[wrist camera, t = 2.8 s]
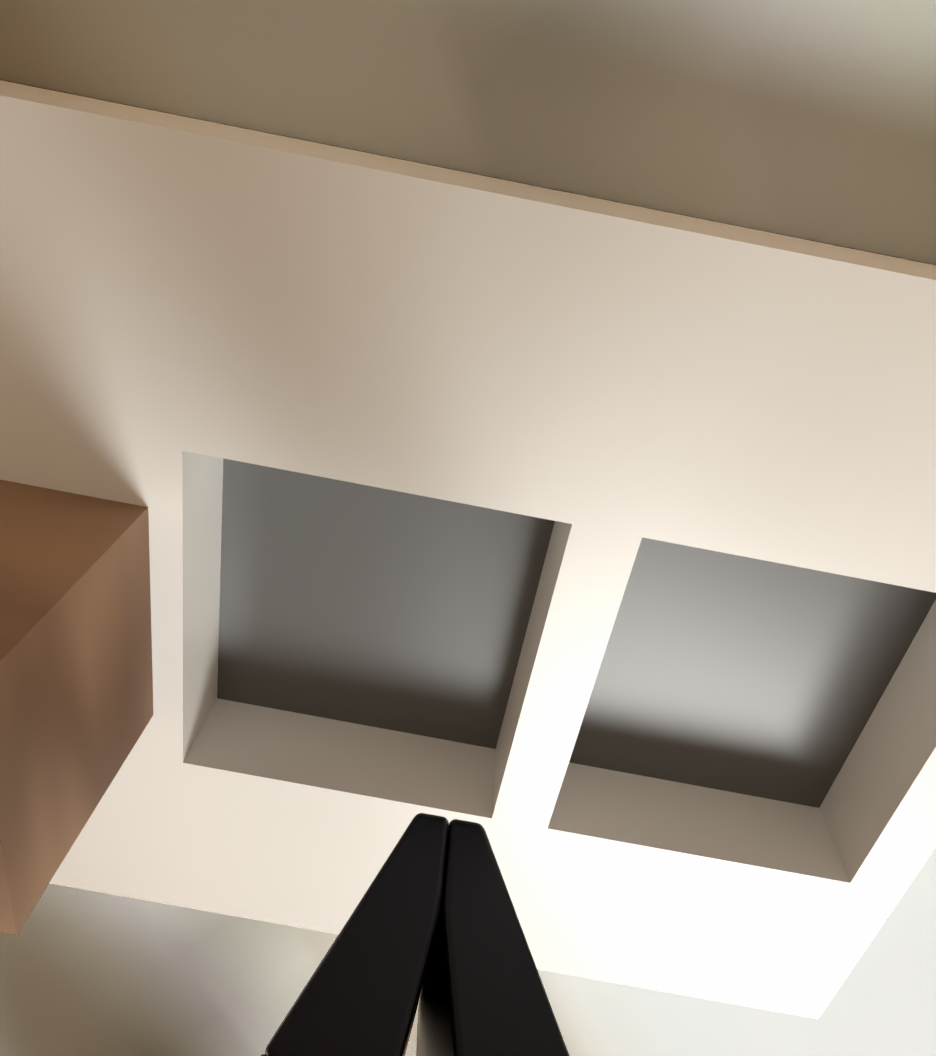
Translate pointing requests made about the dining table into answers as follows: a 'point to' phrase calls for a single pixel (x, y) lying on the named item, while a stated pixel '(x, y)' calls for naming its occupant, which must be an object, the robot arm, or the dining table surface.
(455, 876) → the robot arm
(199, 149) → the board
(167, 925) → the dining table surface
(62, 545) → the walnut block
